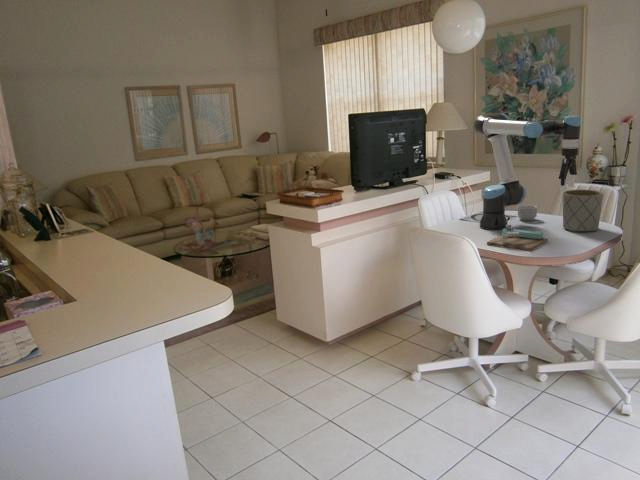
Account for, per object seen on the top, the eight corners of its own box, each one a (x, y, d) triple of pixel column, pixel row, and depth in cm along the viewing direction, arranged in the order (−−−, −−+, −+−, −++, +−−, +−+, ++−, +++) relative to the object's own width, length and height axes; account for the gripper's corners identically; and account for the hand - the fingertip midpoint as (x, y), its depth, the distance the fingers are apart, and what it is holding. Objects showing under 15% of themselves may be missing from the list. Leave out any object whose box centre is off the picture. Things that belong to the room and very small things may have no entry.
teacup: (534, 222, 289) (535, 208, 287) (515, 221, 295) (515, 207, 293) (538, 217, 301) (539, 204, 299) (519, 216, 306) (520, 203, 304)
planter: (605, 233, 257) (608, 195, 252) (566, 233, 261) (568, 196, 256) (593, 224, 275) (596, 188, 270) (556, 225, 279) (558, 190, 274)
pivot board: (487, 244, 252) (487, 231, 250) (505, 235, 266) (506, 223, 264) (530, 251, 236) (531, 237, 235) (547, 241, 251) (548, 228, 249)
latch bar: (500, 234, 261) (500, 229, 260) (505, 232, 265) (505, 227, 264) (539, 239, 247) (539, 234, 246) (543, 237, 251) (543, 232, 250)
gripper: (570, 150, 238) (566, 194, 244) (585, 145, 255) (582, 186, 261) (554, 150, 243) (550, 193, 248) (570, 144, 260) (566, 185, 266)
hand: (566, 189), depth 255 cm, fingers open, 13 cm apart
